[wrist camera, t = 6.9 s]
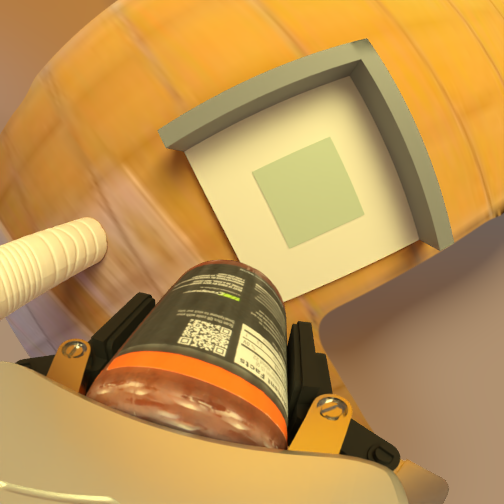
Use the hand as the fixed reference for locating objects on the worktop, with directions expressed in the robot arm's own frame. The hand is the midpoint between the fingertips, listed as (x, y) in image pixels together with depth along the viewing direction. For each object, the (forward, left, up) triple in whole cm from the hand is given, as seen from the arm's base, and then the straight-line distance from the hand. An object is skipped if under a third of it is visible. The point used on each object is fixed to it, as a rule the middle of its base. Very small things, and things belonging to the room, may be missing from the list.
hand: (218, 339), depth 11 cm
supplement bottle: (0, 0, -3) cm, 3 cm away
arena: (+3, -8, -20) cm, 22 cm away
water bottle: (+10, +20, -20) cm, 30 cm away
